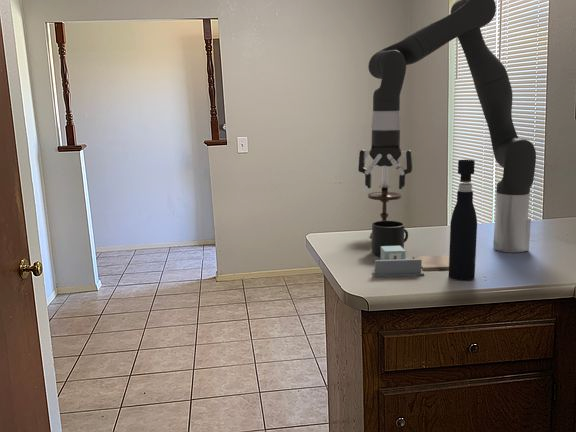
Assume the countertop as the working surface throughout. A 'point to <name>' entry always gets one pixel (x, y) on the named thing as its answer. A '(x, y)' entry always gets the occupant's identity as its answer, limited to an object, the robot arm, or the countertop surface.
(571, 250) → the countertop surface
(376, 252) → the mug
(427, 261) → the coaster
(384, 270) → the grey angle bar
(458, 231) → the wine bottle
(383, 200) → the candlestick
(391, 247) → the letter cube
